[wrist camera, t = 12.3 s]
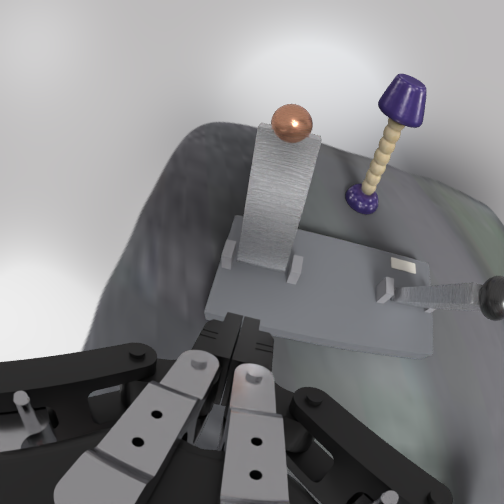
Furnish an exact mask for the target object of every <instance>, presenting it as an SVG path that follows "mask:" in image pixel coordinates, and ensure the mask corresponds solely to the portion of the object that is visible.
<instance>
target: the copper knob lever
mask: <svg viewBox="0 0 504 504" xmlns="http://www.w3.org/2000/svg"><path fill="white" fill-rule="evenodd" d="M311 130H312V118H311V116H310V114H309V113H308V112H307V110H306V109H304V108H303V107H301V106H299V105H296V104H287V105H284V106H282V107H280V108H279V109H277V110H276V111H275V113H274V114H273V117H272V120H271V125H270V124H265V123H261V124H260V125H259V126H258V130H257V136H256V142H255V148H254V155H253V161H252V167H251V173H250V179H249V186H248V192H247V198H246V205H245V211H244V218H243V224H242V231H241V237H240V244H239V251H238V257H237V262H241V263H246V264H250V265H254V266H259V267H263V268H267V269H271V270H276V271H280V272H285V269H286V266H287V263H288V260H289V256H290V253H291V249H292V246H293V243H294V239H295V236H296V232H297V229H298V225H299V222H300V218H301V215H302V211H303V208H304V204H305V201H306V197H307V193H308V190H309V186H310V182H311V179H312V175H313V171H314V167H315V164H316V160H317V156H318V152H319V148H320V144H321V136H318V135H315V134H311Z"/></svg>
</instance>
